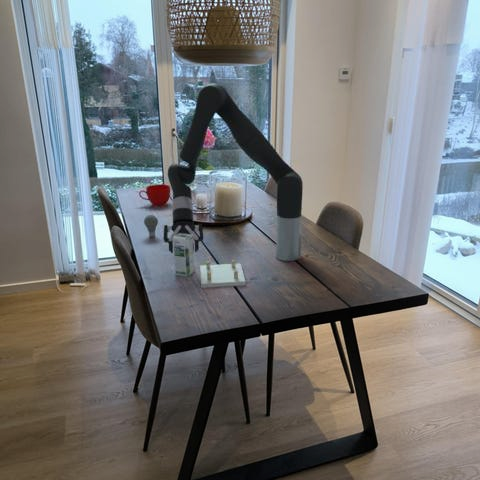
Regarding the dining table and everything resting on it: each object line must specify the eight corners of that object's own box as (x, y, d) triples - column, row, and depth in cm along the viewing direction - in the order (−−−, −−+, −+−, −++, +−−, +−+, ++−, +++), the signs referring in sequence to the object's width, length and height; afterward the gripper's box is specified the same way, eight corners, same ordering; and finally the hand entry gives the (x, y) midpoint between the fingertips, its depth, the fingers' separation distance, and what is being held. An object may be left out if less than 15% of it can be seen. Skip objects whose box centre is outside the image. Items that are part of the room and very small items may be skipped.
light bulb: (145, 239, 191) (143, 217, 187) (144, 234, 196) (143, 213, 193) (159, 238, 192) (158, 216, 189) (158, 233, 198) (156, 212, 194)
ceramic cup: (139, 203, 244) (137, 186, 240) (169, 200, 249) (168, 183, 245) (141, 209, 232) (139, 191, 229) (173, 206, 237) (171, 189, 234)
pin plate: (240, 267, 163) (240, 257, 162) (245, 285, 149) (245, 274, 148) (200, 269, 162) (199, 259, 160) (201, 287, 148) (200, 277, 146)
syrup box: (174, 275, 157) (172, 237, 152) (181, 268, 162) (179, 232, 157) (189, 277, 155) (187, 239, 150) (195, 270, 160) (194, 233, 155)
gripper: (162, 207, 158) (162, 248, 151) (201, 206, 159) (204, 246, 153) (164, 217, 165) (164, 256, 158) (202, 215, 166) (204, 254, 159)
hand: (184, 251), depth 155 cm, fingers open, 8 cm apart
